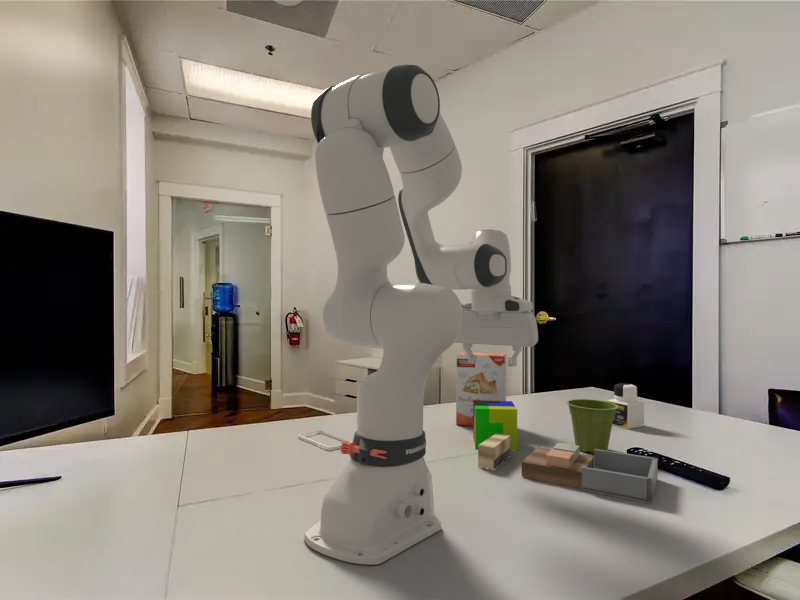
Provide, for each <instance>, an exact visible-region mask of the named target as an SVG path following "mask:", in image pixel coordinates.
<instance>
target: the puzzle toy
mask: <svg viewBox="0 0 800 600" xmlns="http://www.w3.org/2000/svg"><path fill="white" fill-rule="evenodd" d="M472 428H473V429H472V430H473V432H472V433H473V434H472V435H473V437H472V438H474V439H473V443H475V444H474V448H475V449H474V450H478V445H479V444H481V443H482V442H484V441H485V440H487V439H488V438H490V437H491V436H493V435H494V434H496V433H497V434H503V435H510V451H513V450H517V451H518V409H517V407H516V405H515V404H514V402H513V401H512V400H506V401H480V400H473V426H472Z"/></svg>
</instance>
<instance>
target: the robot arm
mask: <svg viewBox="0 0 800 600" xmlns="http://www.w3.org/2000/svg"><path fill="white" fill-rule="evenodd" d="M440 109H441V101H440V94H439V91H438V87H437V85H436V83H435V80H434V79H433V78H432V77H431V75H430V74H429V73H428V72H427V71H426V70H424V69H423V68H422V67H421V66H418V65H417V64H401V65H399V64H398V65H395V66H393V67H391V68H389V69H384V70H379V71H374V72H370V73H368V74H367V73H362V74H360V75H357V76H354V77H351V78H349V79H347V80H345V81H343V82H340V83H339V84H338V85H331V86H329V87H327V88H326V89H324V90H323V91H322V92H321V93H319V94H318V95H317V96H316V97H315V98H314V100H313V103H312V106H311V112H310V113H311V114H310V121H311V127H312V128H311V129H312V133H313V134H314V137H315V140H316V142H317V146H316V148H315V151H314V159H315V170H316V177H317V183H318V189H319V195H320V198H321V202H322V206H323V209H324V213H325V217H326V221H327V224H328V227H329V231H330V234H331V239H332V243H333V247H334V250H335V254H336V259H337V260H336V262H337V278H336V283H335V285H334V289H333V291H332V292H331V293H330V294H329V296H328V297H327V299H326V301H325V304H324V307H323V311H322V318H323V325H324V328H325V330H326V332H327V334H328V336H330V337H331V339H333V340H334V341H338V342H340V343H342V344H345V345H350V346H352V347H356V348H365V349H366V348H368V349H369V348H370V349H382V350H383V354H382V359H381V362H380V364H379V367H378V368H377V370H376V371H374V372H372V373H370V374H368V375H367V376H366V377H365V378H364V379H363V380H361V382H360V384H359V385H358V388H357V391H356V393H357V394H356V397H357V399H356V406H357V407H356V431H355V432H354V434H353V435H354V436H353V439H352V442H351V443H350V442H348V441H343V442H342V441H341V443H340V444H342V445H340V447H341V448H339V452H341V454H342V455H349V457H350V458H349V461H348V462H347V463H346V465H345V466H344V468H343V469H342V470H341V472H340V473H339V475H338V477H337V478H336V479H335V481H334V482H333V484H332V485H331V486H330V488H329V489H328V491H327V492H326V494H325V495H324V497H323V499H322V504H321V511H320V519H319V520H318V521H317V522H315V524H314V525H312V526H311V527H310V528H309V529H307V530H306V531H305V533H304V537H303V538H304V539H303V540H304V541H305V544H307V546H308V547H310V548H311V549H313V550H314V551H316V552H318V553H320V554H322V555H325V556H327V557H330V558H333V559H335V560H336V559H337V560H339V561H343V562H347V563H351V564H358V565H380V564H382V563H384V562H386V561H387V560H390V559H391V558H393V557H395V556H396V555H398V554H400V553H402V552H403V551H406V550H407V549H409V548H411V547H413V546H414V545H415V544H418V543H420V542H421V541H423V540H425V539H426V538H428V537H430V536H432V535H434V534H436V533H437V532H439V531H440V530H442V522H441V520H440V519H439V517H437V516H436V513H435V511H436V510H435V502H434V500H435V499H434V487H433V476H432V473H431V471H430V470H429V468H428V466H427V464H426V461H425V455H426V454H427V453H426V452H427V449H426V446H427V439H426V432H425V430H424V403H425V389H426V385H427V380H428V378H429V375H430V372H431V371H432V368H433V366H434V364H435V363H436V361H437V360H438V359H439V357H440V356H441V355H442V354H443V353H444V352H445V351H446V350H447V349H449V348H451V347H452V346H453V345H454V344H462V346H463V348H462V349H463V350H464V352H465V353H466V354H467V356H468V363H473V364H475V363H477V355H473V353H474V352H473V351H472V348H473V345H487V346H488V345H490V346H506V347H507V346H510V347H512V351H513V352H514V353H513V354H512V356H510V357H508V358H507V366H508V367H517V365H518V363H517V361H518V360H517V359H518V357H519V356H520V355H521V352H522V350H523V349H522V348H523V347H527V348H530V347H533V346H535V345H536V344H538V342H539V330H538V323H537V322H538V321H537V319H536V316H535V315H534V313H532V311H533V309H534V304H533V301H530V300H528V299H524V298H520V297H517V296H514V295H512V286H511V283H510V277H511V272H512V263H511V262H512V261H511V249H510V242H509V238H508V235H507V234H506V233H504V231H501V230H495V229H481V230H477V231H476V232H475V233H473V236H472V237H473V238H472V240H471V241H470V242H468V243H464V244H451V245H444V244H441V243H438V242H437V240H436V239H435V236H434V232H433V229H432V224H431V221H430V220H431V219H430V217H429V212H430V210H432V209H434V208H435V207H437V206H439V205H441V204H442V203H443V202H445V201H446V200H447V199H448V198H450V196H451V195H452V194H453V193H454V192H455V191H456V189H457V187H458V186H459V184H460V181H461V178H462V173H463V166H462V161H461V157H460V155H459V152H458V149H457V147H456V144H455V141H454V139H453V137H452V133H451V131H450V129H449V127H448V125H447V123H446V122H445V119H444V118H443V117H444V116H442V114H441V110H440ZM386 148H389V150H390V152H391V155H392V157H393V161H394V163H395V165H396V167H397V169H398V172H399V173H400V174H399V175H400V177H401V182H402V187H401V188H400V190H399V191H398V195H397V196H398V197H397V199H396V195H395V192H394V187H393V184H392V181H391V177H390V174H389V171H388V168H387V165H386V163H385V161H384V150H385V149H386ZM397 203H398V204H397ZM401 219H402V220H401ZM402 223H403V224H402ZM403 227H404V228H403ZM404 229H405V233H406V236H407V239H408V242H409V246H410V249H411V253H412V255H413V259H414V260H413V261H414V267H415V268H414V269H415V274H416V278H417V280H418V282H419V283H416V282H413V283H410V282H409V283H391V282H390V281H389V278H388V265H390V264H391V263H392V262H393V261H394V260H395V259H396V258H397V257H398V256H399V255H400V253H401V252H402V250H403V248H404V245H405V238H406V237H405V233H404ZM455 290H458V291H461V290H471V303H470V302H467V303H461V300H460V298H459V297H458V295H457V294H456V293H455V292H454V291H455Z"/></svg>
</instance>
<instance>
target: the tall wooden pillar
mask: <svg viewBox="0 0 800 600" xmlns="http://www.w3.org/2000/svg"><path fill="white" fill-rule="evenodd" d="M477 454H478V457H477V460H478V461H477V462H478V463H477V465H478V466H477V467H482V468H481V469H483V468H488V469H487V470H489V469H493V470H492V471H495V470H496V469H497V468H498V467H499V465H500V464H501V463H502V462H503V461H504V462H506V461H507V460H508V459H509V458H510V457H511V450H510V435H503V434H497V433H496V434H494V435H493V436H491V437H490V438H488V439H487V440H485V441H484V442H482V443H481V444H479V445H478V449H477ZM509 456H510V457H509ZM508 457H509V458H508ZM507 458H508V459H507ZM506 459H507V460H506ZM505 460H506V461H505ZM504 462H503V463H504ZM503 463H502V464H503ZM502 464H501V465H502ZM501 465H500V466H501ZM497 466H498V467H497ZM496 467H497V468H496ZM495 468H496V469H495ZM494 469H495V470H494Z"/></svg>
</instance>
